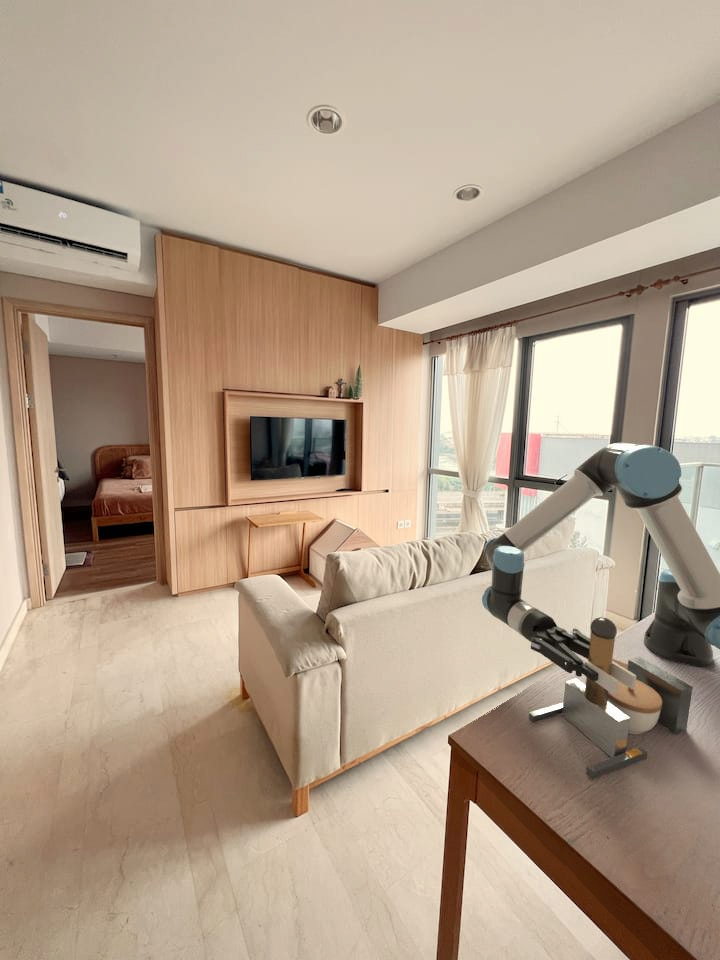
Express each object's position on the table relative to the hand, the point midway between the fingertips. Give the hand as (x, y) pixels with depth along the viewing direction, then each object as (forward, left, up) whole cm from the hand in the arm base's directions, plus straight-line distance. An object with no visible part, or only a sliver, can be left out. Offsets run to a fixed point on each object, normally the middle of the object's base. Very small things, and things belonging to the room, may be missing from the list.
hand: (625, 684), depth 73 cm
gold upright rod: (0, -5, -15) cm, 16 cm away
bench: (-5, -5, -15) cm, 17 cm away
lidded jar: (-10, -5, -15) cm, 19 cm away
